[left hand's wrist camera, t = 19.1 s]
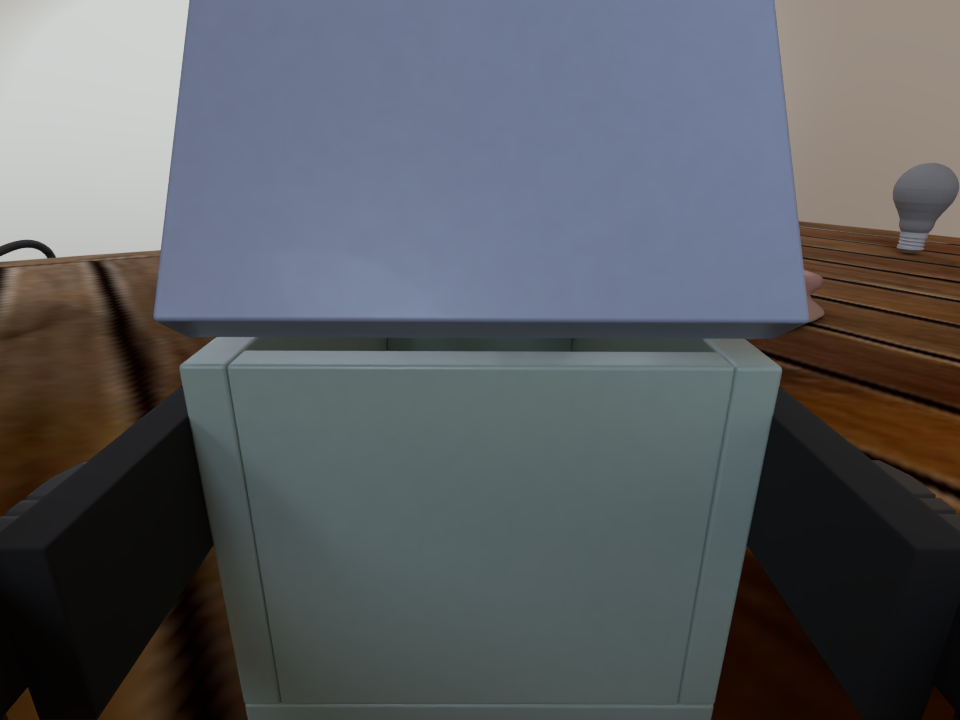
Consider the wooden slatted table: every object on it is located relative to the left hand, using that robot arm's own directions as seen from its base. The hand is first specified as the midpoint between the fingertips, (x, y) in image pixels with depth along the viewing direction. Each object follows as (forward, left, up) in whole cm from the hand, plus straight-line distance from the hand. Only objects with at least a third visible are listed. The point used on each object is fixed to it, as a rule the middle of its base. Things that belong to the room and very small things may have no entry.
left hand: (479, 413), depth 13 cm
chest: (-5, +3, -6) cm, 8 cm away
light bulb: (-18, +74, -6) cm, 77 cm away
